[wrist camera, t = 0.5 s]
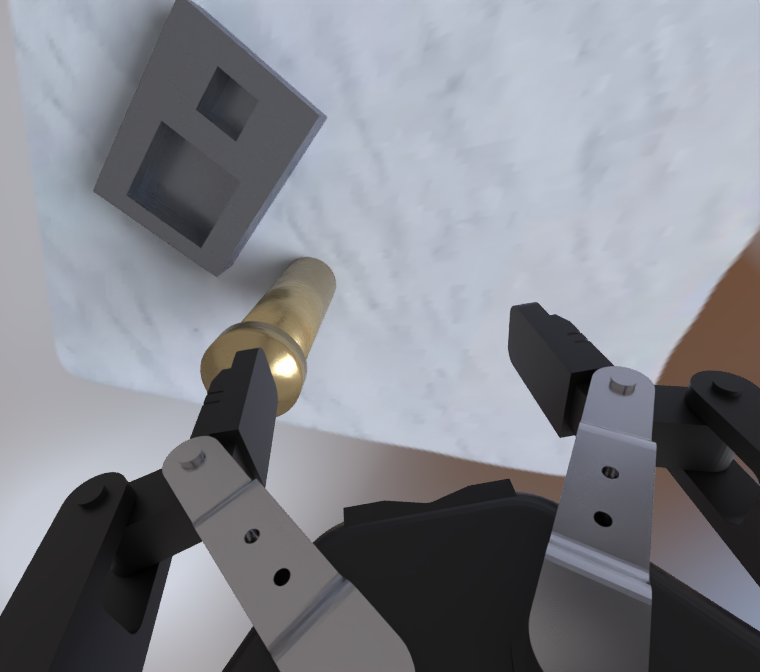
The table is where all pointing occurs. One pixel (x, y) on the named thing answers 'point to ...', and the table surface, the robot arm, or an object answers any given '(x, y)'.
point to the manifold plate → (206, 140)
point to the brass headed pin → (279, 329)
